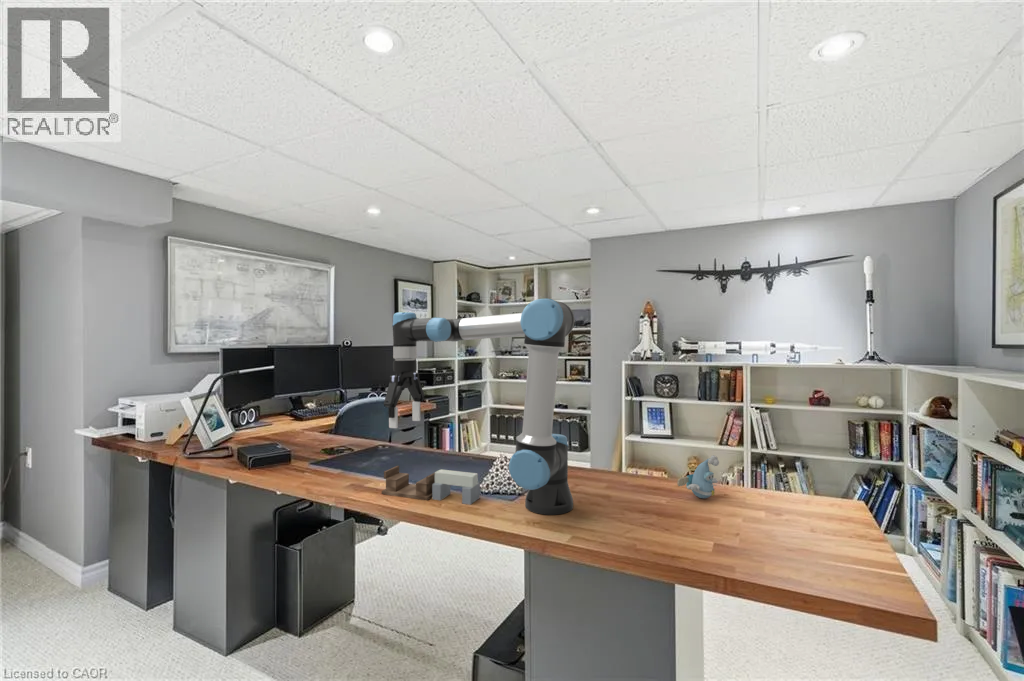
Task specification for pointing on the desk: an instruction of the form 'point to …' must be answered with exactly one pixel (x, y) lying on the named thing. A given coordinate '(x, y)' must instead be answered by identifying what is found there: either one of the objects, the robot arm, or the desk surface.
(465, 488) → the blocks
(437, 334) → the robot arm
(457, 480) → the pale grey long block
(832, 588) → the desk surface
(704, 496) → the toy figure
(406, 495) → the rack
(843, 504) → the desk surface
